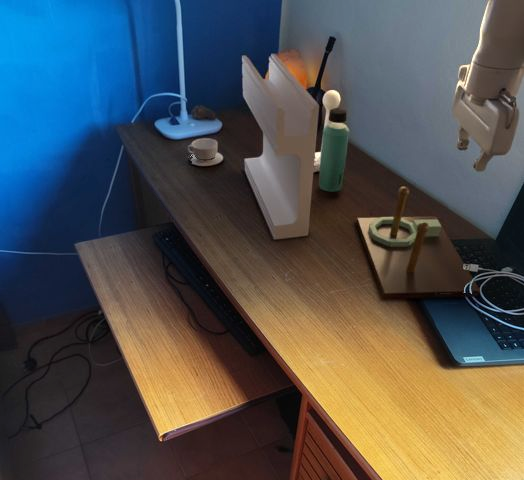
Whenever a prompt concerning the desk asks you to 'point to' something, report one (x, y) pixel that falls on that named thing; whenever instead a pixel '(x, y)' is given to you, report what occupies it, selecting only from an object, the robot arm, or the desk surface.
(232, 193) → the desk surface
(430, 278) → the peg rack
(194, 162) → the teacup
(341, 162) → the beverage bottle
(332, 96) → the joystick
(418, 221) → the hanging tag
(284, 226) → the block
